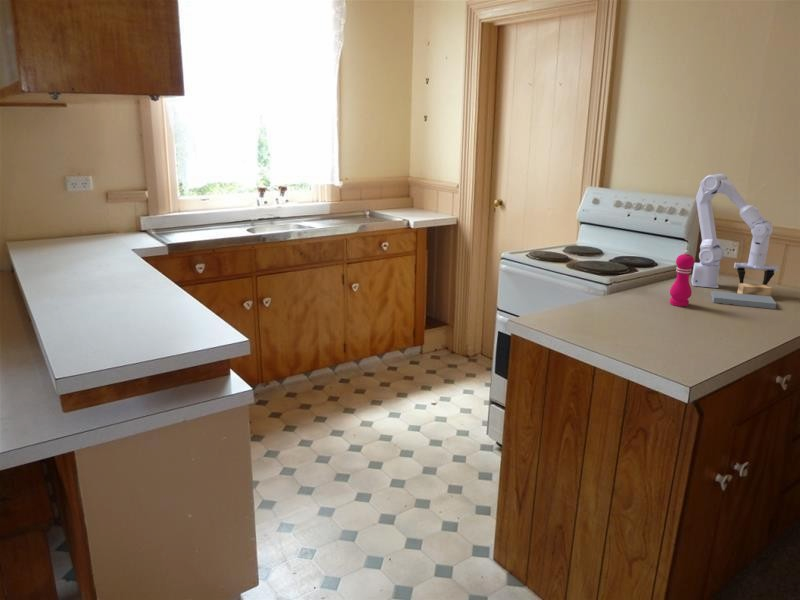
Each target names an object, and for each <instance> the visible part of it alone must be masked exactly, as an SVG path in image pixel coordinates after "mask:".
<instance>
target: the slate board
mask: <svg viewBox="0 0 800 600" xmlns="http://www.w3.org/2000/svg"><path fill="white" fill-rule="evenodd" d="M711 297H712V298H711ZM710 298H711V301H712V302H713V304H719V303H723V304H722V305H729V304H733V305H732V306H739V305H740V307H741V306H742V307H750V308H751V307H752V308H761V309H771V310H776V309H777V308H776V307H777V302H776V301H775V300H774V298H773V297H772V295H771V296H760V295H750V294H739V293H737V292H728V291H727V292H726V291H719V290H718V291H717V290H711V291H710Z"/></svg>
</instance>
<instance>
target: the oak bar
mask: <svg viewBox="0 0 800 600" xmlns="http://www.w3.org/2000/svg"><path fill="white" fill-rule="evenodd" d="M772 292H773V287H772V286H770V285H769V284H767V285H765V284H763V283H762V284H761V283H745V282H743V283H740V282H739V283H738V287H737V292H736V293H739V294H750V295H760V296H771V297H772Z"/></svg>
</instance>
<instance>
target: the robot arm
mask: <svg viewBox="0 0 800 600" xmlns="http://www.w3.org/2000/svg"><path fill="white" fill-rule="evenodd" d="M699 185H700V186H699V188H698V191H697V193H696V196H695V201H696V208H697V214H698V215H697V216H698V221H699V228H700V229H699V230H700V234H701V243H700V245H699V249H700V250H699V253H698V258H699V262H694V265H693V266H692V267H693V268H692V274H691V285H692V286H693V287H704V288H705V287H706V288H714V289H718V288H719V285H718V278H719V272H720V267H721V262H720V261H721V260H722V259H723V258H724V255H725V251H724V249H723V248H722V246H721V243H720V241H719V240H718V237H717V232H716V223H715V217H714V210H713V203H712V199H713V198H714V197H715V196H716V195H717V193H718V194H721V195H725V196H726V197H727V198H728V199H729V200H730V201H731V203H733V204H734V205H735V207H736V208H737V209H739V216H740V218H741V219H742V220H743V221H744V223H745V224H746V225H747V226H748V227H749V229H751V230H750V233H751V235H752V239H751V243H750V249H749V253H748V254H749V255H748V261H747V262H734V265H733V268H734V269H736V272H737V274H738V279H739V283H744V280H745V276H746V270H753V271H763V272H764V275H763V281H762V284H765V285H768V283H769V282H770V281H771V279H772V278H773V276H774V275H775V273H778V271H779V266H778V265H771V264H766V261H767V256H768V255H767V254H768V250H769V245H770V239H771V238H770V237H771V234H772V233H773V232H774V225H773V224H772V222H771V221H768V219H767V218H766V217H763V215H762V214H761V213H760V212H759V208H758V207H757V206H756V207H755V205H751V204H749V203H747V201H746V200H745V199H744V197H743V196H742V195H741V193H740V191H738V189H737V188H736V187H735V185H734V184H733V182H732V180H730V179H729V178H728V176H727V175H726V174H724V173H716V174H709V175H707V176H705V177H704V178H703V179H702V180H701V181H700V182H699Z"/></svg>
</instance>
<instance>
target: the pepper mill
mask: <svg viewBox="0 0 800 600" xmlns="http://www.w3.org/2000/svg"><path fill="white" fill-rule="evenodd" d="M694 263H695V258H694V257H693V256H692V254H691V255H690V251H689V250H687V249H685V250H684V251H683V254H680V255H678V257H676V259H675V264H676V270H675V272H676V278H675V281H674V282H673V284H672V285H671V287H670V289H669V295H670V299H669V304H670V305H671V304H672V305H671V306H674V305H675V307H679V306H686V307H688V306H689V303H690V301H689V299H690V298H691V296H692V288H691V284H690V280H689V279H690V274H691V273H692V271H693V268H692V267H694Z"/></svg>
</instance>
